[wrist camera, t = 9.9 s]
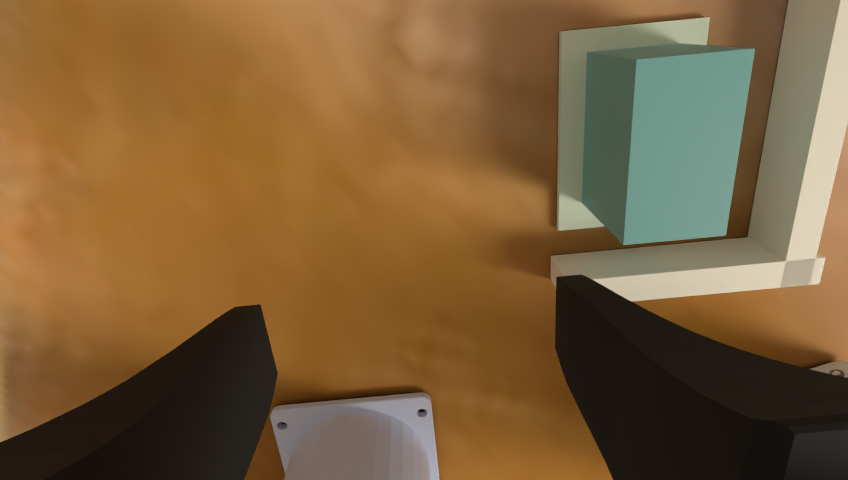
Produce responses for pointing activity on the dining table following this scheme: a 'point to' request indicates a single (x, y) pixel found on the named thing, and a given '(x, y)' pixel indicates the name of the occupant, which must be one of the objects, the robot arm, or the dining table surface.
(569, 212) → the pad
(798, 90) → the corner walls
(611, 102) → the teal brick
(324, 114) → the dining table surface
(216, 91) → the dining table surface
